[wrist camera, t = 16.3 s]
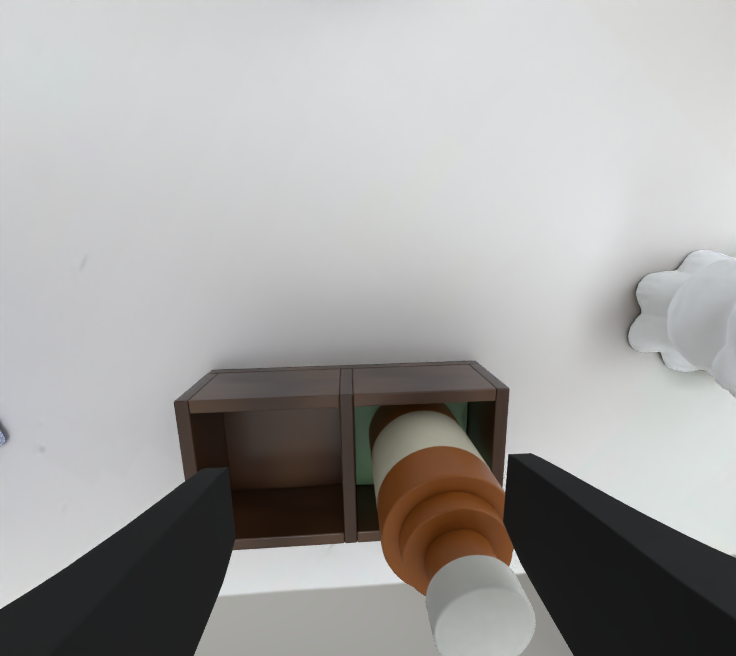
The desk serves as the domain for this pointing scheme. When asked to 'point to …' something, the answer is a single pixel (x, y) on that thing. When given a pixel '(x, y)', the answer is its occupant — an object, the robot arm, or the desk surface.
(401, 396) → the wooden compartment tray
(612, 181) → the desk surface
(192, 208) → the desk surface
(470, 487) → the amber bottle
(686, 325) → the rabbit
